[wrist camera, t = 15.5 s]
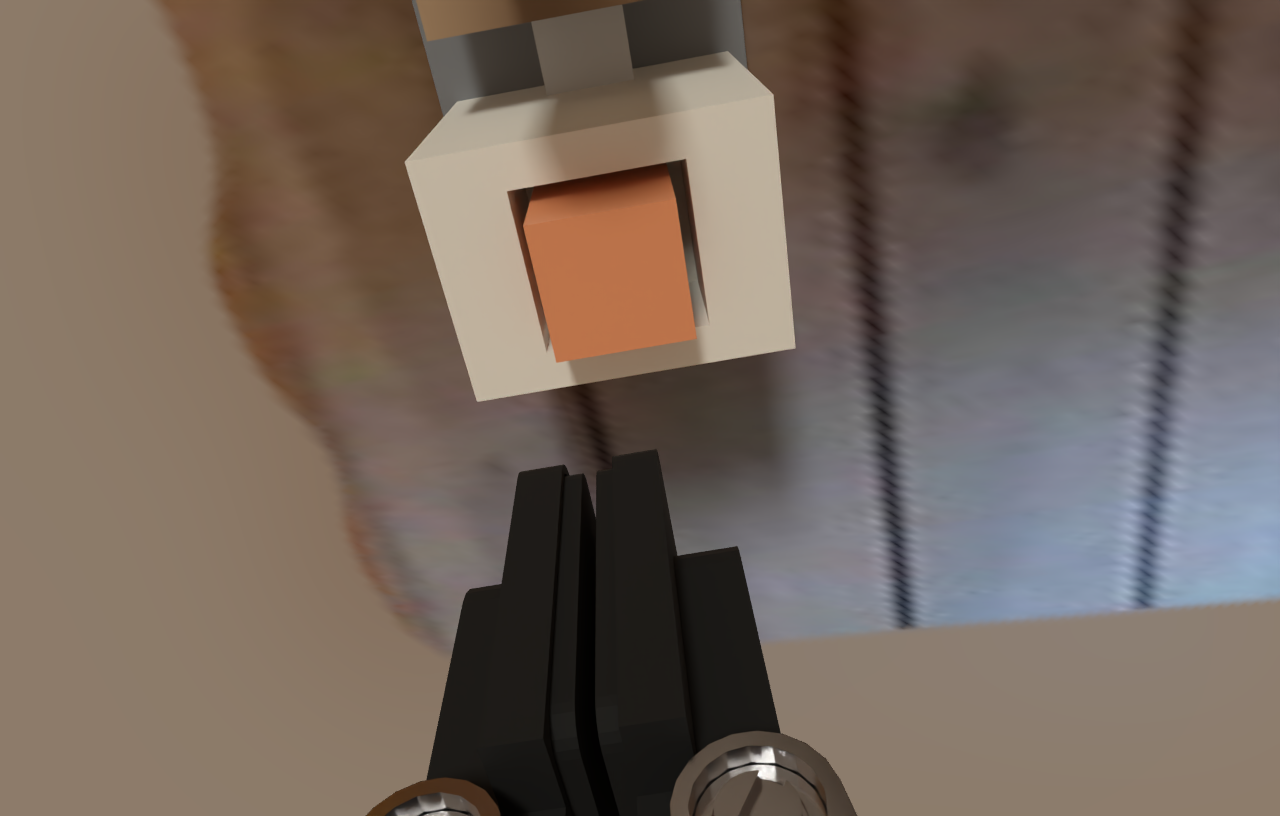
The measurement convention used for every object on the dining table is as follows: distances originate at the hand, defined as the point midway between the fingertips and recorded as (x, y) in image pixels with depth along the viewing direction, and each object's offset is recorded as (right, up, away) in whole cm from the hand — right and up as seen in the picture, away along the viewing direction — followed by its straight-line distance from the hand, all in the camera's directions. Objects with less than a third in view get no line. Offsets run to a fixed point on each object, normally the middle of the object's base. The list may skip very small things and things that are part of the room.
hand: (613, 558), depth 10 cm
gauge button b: (0, +6, +11) cm, 13 cm away
